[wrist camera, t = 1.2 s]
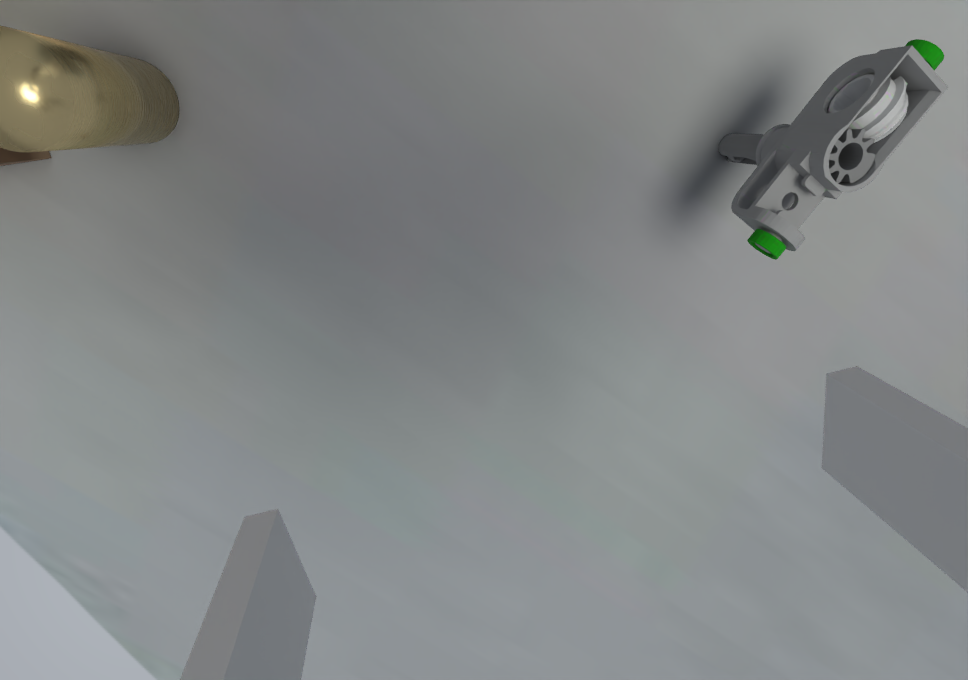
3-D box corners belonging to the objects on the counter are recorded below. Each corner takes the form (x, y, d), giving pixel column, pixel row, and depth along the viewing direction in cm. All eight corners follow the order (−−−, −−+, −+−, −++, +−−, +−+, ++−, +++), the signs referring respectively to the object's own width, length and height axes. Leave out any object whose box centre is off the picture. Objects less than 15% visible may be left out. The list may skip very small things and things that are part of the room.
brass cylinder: (79, 64, 28) (-82, 34, 18) (163, 52, 28) (44, 16, 19) (111, 148, 29) (-24, 160, 20) (190, 137, 29) (93, 142, 20)
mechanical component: (658, 205, 34) (753, 236, 25) (773, 53, 32) (925, 24, 23) (692, 232, 35) (796, 271, 26) (806, 86, 33) (965, 72, 24)
